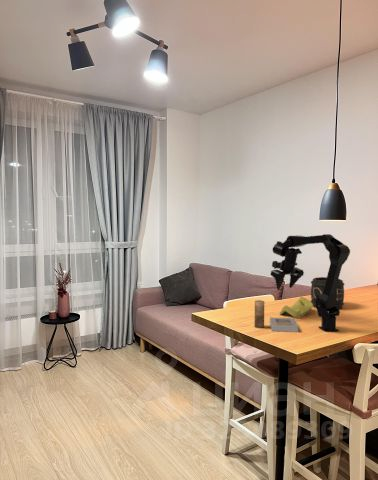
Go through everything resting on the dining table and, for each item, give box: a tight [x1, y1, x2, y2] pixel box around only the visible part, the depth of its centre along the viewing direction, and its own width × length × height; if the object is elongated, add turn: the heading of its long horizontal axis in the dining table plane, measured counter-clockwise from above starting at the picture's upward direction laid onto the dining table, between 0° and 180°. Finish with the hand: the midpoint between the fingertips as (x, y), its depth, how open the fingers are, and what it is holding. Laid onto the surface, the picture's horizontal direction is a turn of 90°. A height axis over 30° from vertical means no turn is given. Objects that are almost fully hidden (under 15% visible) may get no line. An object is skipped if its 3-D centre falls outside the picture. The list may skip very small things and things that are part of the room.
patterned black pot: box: [310, 276, 345, 311], centre depth 207 cm, size 18×18×16 cm
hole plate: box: [269, 317, 299, 333], centre depth 168 cm, size 12×12×3 cm
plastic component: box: [279, 296, 314, 319], centre depth 193 cm, size 20×7×10 cm
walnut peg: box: [254, 299, 265, 329], centre depth 169 cm, size 4×4×12 cm
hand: (284, 288), depth 186 cm, fingers open, 9 cm apart
